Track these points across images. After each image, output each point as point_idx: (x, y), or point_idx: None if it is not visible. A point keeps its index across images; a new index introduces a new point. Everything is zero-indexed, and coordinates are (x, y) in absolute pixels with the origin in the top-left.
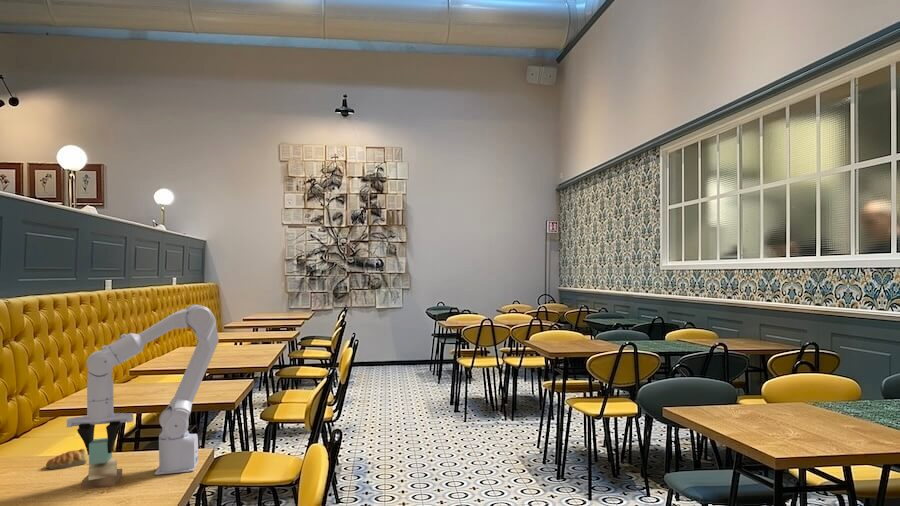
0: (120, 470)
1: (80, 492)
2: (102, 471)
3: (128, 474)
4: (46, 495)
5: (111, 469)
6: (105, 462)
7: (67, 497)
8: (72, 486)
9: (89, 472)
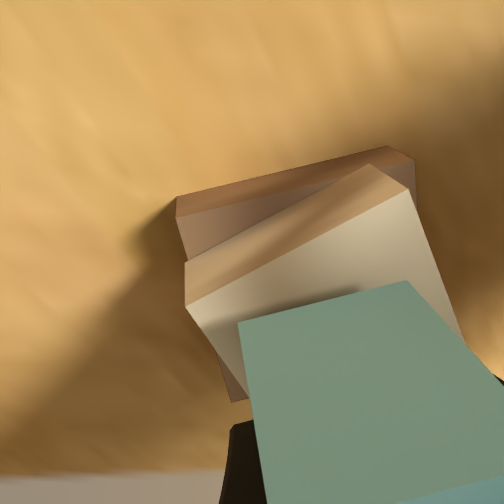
0: (416, 207)
1: None
2: None
3: (422, 111)
4: (72, 444)
5: None
6: (338, 291)
7: (221, 460)
8: (129, 327)
9: None
